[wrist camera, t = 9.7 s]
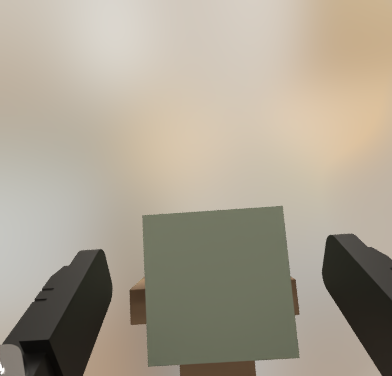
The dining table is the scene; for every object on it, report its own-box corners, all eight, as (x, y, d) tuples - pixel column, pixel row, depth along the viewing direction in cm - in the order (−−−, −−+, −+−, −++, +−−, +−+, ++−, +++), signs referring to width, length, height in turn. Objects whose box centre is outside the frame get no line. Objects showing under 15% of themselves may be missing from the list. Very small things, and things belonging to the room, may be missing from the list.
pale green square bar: (299, 358, 7) (282, 205, 7) (148, 366, 7) (142, 215, 8) (225, 254, 31) (222, 219, 31) (190, 256, 31) (188, 222, 31)
